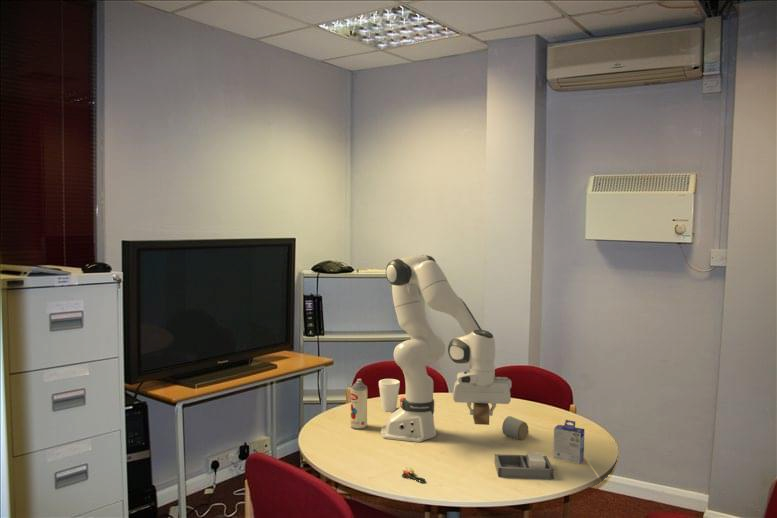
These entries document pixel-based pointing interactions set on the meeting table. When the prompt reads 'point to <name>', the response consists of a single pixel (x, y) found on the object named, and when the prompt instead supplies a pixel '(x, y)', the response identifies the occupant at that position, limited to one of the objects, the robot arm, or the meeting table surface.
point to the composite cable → (412, 475)
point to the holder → (520, 467)
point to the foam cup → (389, 394)
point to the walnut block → (481, 413)
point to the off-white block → (535, 460)
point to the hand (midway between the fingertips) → (481, 414)
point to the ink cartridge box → (568, 443)
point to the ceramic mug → (515, 428)
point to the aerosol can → (359, 405)
